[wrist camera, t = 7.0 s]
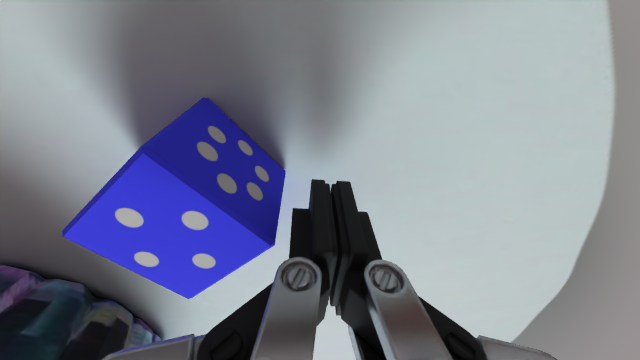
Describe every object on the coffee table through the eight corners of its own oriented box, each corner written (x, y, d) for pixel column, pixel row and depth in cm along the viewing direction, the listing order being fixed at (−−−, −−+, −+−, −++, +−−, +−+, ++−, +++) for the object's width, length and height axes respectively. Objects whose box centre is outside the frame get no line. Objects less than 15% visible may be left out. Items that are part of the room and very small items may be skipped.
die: (223, 219, 15) (189, 301, 10) (141, 161, 12) (56, 236, 8) (287, 171, 13) (277, 246, 9) (206, 94, 11) (140, 145, 6)
